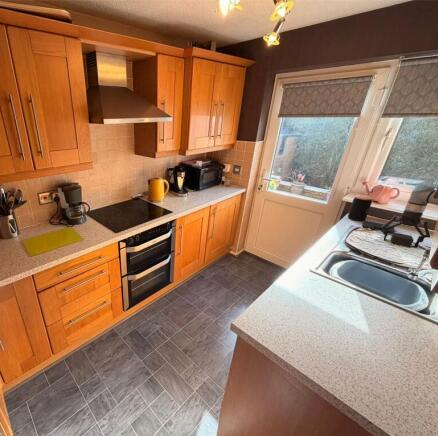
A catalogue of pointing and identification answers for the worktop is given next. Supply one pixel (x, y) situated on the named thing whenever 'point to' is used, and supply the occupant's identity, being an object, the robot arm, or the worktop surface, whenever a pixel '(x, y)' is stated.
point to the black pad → (401, 239)
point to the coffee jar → (360, 207)
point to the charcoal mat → (376, 226)
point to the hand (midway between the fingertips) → (399, 243)
